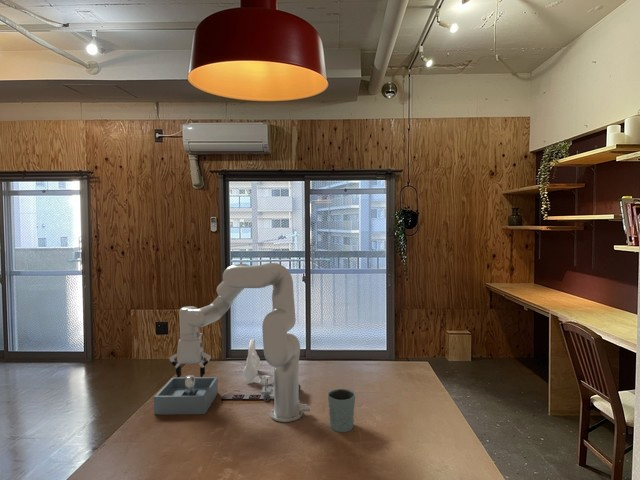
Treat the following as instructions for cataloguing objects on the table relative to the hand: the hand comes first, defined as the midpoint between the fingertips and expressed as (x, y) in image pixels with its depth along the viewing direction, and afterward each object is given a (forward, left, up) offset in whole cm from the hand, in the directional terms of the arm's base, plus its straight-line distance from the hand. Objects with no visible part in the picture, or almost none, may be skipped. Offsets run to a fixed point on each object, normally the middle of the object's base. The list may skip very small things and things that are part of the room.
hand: (190, 376), depth 170 cm
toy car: (-37, -5, -11) cm, 39 cm away
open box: (0, +3, -10) cm, 11 cm away
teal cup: (-63, +23, -11) cm, 67 cm away
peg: (0, 0, -10) cm, 10 cm away
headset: (-21, -26, -11) cm, 35 cm away
